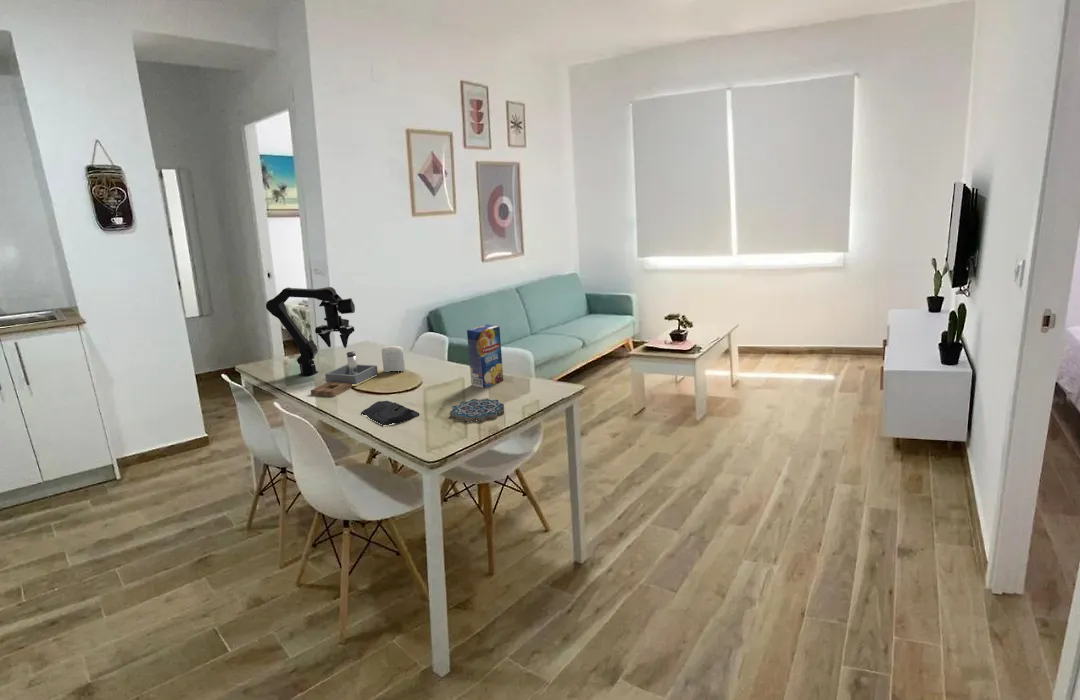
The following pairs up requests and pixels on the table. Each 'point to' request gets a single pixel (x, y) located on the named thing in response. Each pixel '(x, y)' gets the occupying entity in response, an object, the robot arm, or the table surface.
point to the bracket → (331, 388)
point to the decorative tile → (477, 410)
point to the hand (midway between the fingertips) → (337, 347)
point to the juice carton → (485, 355)
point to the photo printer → (393, 358)
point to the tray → (345, 377)
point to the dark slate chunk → (389, 412)
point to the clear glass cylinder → (352, 363)
